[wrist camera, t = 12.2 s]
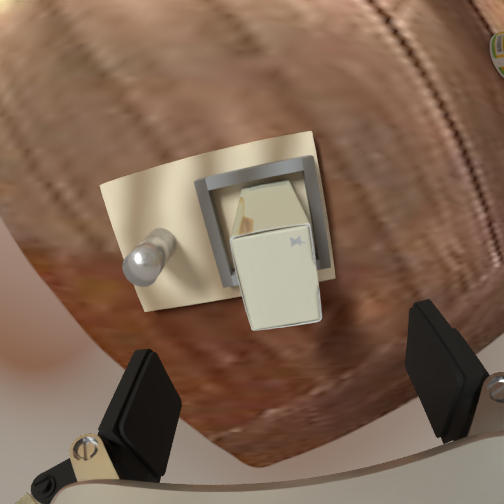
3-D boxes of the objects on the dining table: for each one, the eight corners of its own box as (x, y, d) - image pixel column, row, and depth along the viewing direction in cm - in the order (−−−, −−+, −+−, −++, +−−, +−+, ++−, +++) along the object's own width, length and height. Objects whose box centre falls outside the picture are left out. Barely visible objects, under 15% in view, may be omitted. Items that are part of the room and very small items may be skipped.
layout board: (309, 131, 27) (314, 131, 24) (332, 271, 32) (338, 285, 29) (106, 182, 29) (92, 188, 26) (149, 304, 34) (140, 319, 31)
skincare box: (240, 187, 27) (224, 231, 16) (289, 178, 27) (311, 216, 16) (254, 255, 30) (249, 335, 18) (301, 247, 29) (323, 323, 18)
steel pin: (171, 224, 29) (150, 248, 23) (180, 254, 30) (162, 283, 24) (142, 231, 29) (117, 256, 24) (152, 260, 30) (130, 289, 25)
